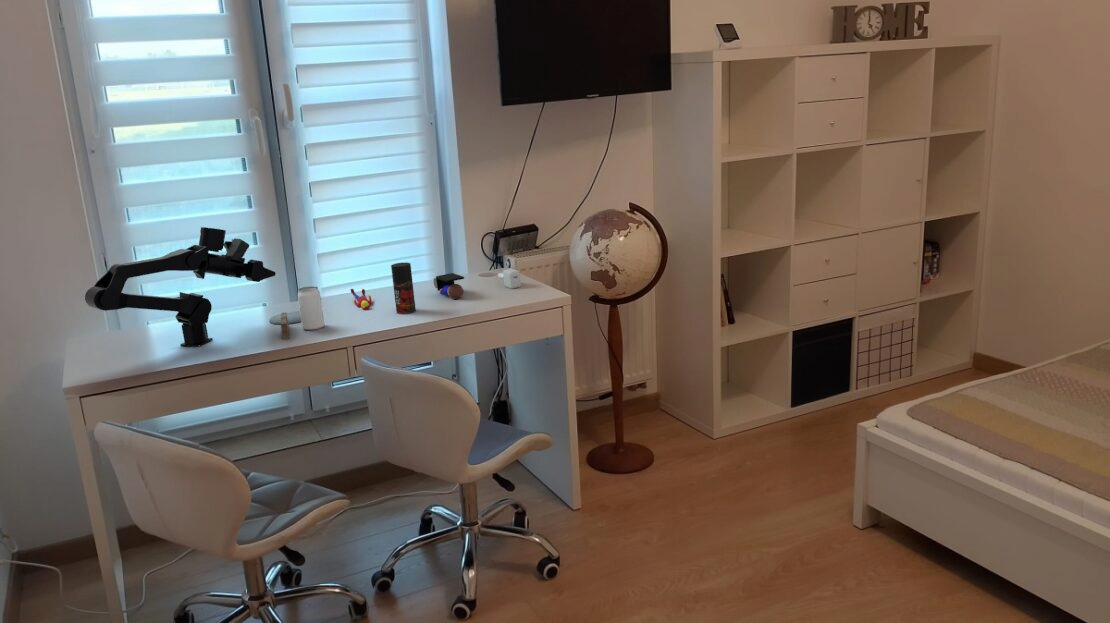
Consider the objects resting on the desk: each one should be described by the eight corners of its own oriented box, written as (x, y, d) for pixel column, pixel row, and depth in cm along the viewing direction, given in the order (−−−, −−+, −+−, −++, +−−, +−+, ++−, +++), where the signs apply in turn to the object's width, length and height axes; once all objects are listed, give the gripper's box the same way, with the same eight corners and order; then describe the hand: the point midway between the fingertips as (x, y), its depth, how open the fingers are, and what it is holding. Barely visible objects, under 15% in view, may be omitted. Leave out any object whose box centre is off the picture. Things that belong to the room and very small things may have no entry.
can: (318, 330, 250) (313, 291, 247) (298, 330, 252) (292, 291, 248) (328, 324, 256) (323, 285, 253) (308, 324, 258) (303, 286, 255)
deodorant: (393, 313, 263) (387, 266, 259) (402, 308, 269) (396, 262, 265) (410, 314, 262) (405, 266, 258) (418, 309, 267) (413, 262, 263)
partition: (288, 338, 244) (286, 323, 242) (283, 339, 243) (280, 324, 242) (288, 326, 257) (286, 312, 256) (283, 327, 256) (281, 312, 255)
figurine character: (433, 297, 287) (449, 301, 274) (430, 275, 286) (445, 277, 272) (452, 294, 290) (468, 297, 277) (449, 272, 289) (465, 274, 275)
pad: (298, 324, 258) (298, 322, 258) (261, 324, 261) (260, 322, 261) (320, 313, 270) (320, 311, 270) (284, 313, 273) (283, 311, 273)
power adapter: (494, 284, 294) (493, 267, 292) (506, 281, 296) (505, 265, 295) (510, 289, 284) (508, 272, 283) (522, 287, 287) (521, 270, 285)
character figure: (364, 282, 288) (370, 295, 270) (369, 294, 290) (376, 307, 271) (348, 289, 287) (353, 302, 269) (354, 301, 289) (359, 314, 270)
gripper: (240, 239, 241) (288, 248, 253) (207, 235, 253) (255, 244, 265) (233, 278, 241) (282, 285, 253) (201, 272, 253) (249, 279, 265)
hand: (267, 272), depth 259 cm, fingers open, 9 cm apart
